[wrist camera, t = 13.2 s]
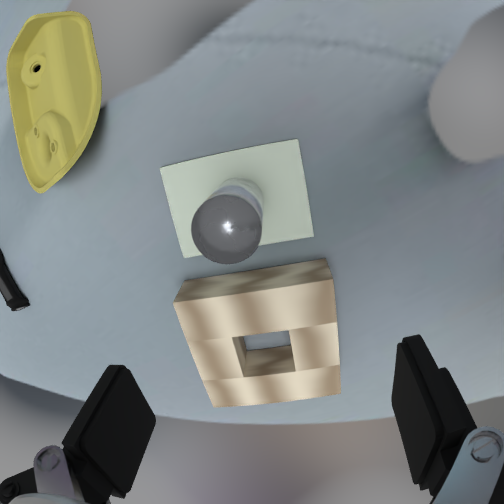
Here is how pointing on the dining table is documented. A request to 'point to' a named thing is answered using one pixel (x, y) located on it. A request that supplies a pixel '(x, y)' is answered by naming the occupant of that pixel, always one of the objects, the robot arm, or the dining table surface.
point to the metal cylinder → (229, 222)
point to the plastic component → (53, 93)
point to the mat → (255, 169)
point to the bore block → (263, 321)
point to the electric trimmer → (10, 290)
